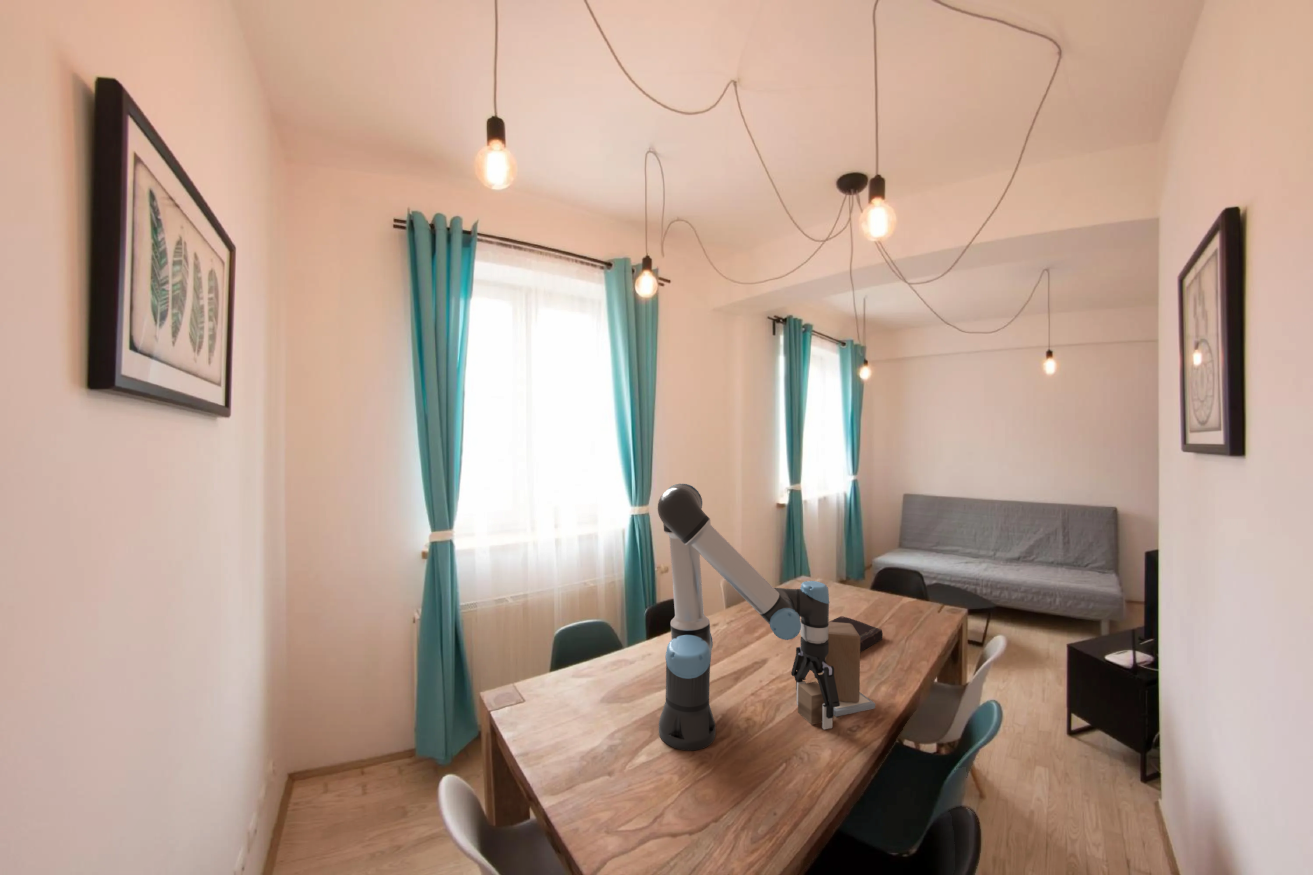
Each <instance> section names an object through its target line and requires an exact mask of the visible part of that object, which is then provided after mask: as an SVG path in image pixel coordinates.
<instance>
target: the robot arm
mask: <svg viewBox="0 0 1313 875" xmlns="http://www.w3.org/2000/svg"><path fill="white" fill-rule="evenodd" d="M702 508H703V498H702V495H701V493H700V492H699V490H697V488H695V486H693V485H691V484H687V483H678V484H674V485H671V486H670V487H669V488H668V489H667V490H665V491H664V492H663V494H662V495H661V496H660V498H659V500H658V503H657V514H658V517H659V519H660V521H661V522H662V524H663V533H664V534H666V535H667V536H668V537H669V550H670V552H669V553H670V563H671V565H670V566H671V577H672V579H671V580H672V592H673V593H672V594H673V604H674V605H673V606H674V607H673V608H674V617H673V618H672V619H671V620H670V634H671V635H670V636H671V640H670V641H669V642H668V644H667V647H666V652H665V665H666V666H665V668H666V669H665V672H666V673H665V702H664V705H663V708H662V711H661V714H660V716H659V720H658V734H659V737H660V739H661V740H662V741H663V743H665V744H666V745H668V746H670V747H671V748H674V749H676V750H679V751H681V750H682V751H697V750H701V749H705V748H706V747H708V746H710V745H711V744H712V743H713V742H714V740H715V738H716V722H715V718H714V715H713V711H712V708H711V706H710V687H711V686H710V681H711V678H710V677H711V675H710V674H711V673H710V672H711V662H712V661H711V660H712V651H713V644H714V642H713V636H712V633H711V624H710V618H709V617H708V616H706V615H705V611H704V599H703V598H704V596H703V584H702V571H701V557H702V558H703V559H704V560H705V561H706V562H707V563H708V564H709V565H710V566H711V567H712V568H713V569H714V570H715V571H716V572H717V573H718V574H719V576H721V577H722V578H723V579H724V580H725V581H726V582H727V583H728V584H729V585H730V586H731V587H732V588H733V589H734V590H735V591H736V592H737V593H738V594H739V595H740V596H741V597H742V598H743V599H744V600H745V601H746V602H747V603H748V604H749V606H751V607H752V609H754V610H755V611H756V612H757V613H758V614H759V615H760V616H761V618H763V619H764V620H765V622H766V623H767V624H769V627H770V629H771V632H772V633H773V634H774V635H775V636H776V637H777V638H778V639H781V640H785V641H789V640H793V639H795V638H797V637H798V635H799V634H800V636H801V637H800V646H797V647H795V658H794V660H793V664H792V669H791V673H790V674H791V676H792V677H794V680H795V690H796V691H795V692H796V703H795V704H796V705H797V706H798V685H799V684H805V683H807V681H805V680H807V679H806V677H807V676H808V674H809V673H810V671H811V672H812V673H813V676H814V678H815V679H816V680H817V683H818V684H819V687H820V690H821V693H822V696H823V700H824V703H825V704H823V705H822V722H821V728H822V729H823V730H829V729H832V728H833V719H834V713H833V712H834V707H838V706H840V703H839V698H838V693H837V688H836V683H835V677H834V667H833V666H828V665H827V664H826V660H825V658H826V656H827V655H828V650H829V642H828V631H829V621H830V619H829V618H830V614H829V613H830V611H829V610H830V595H829V594H830V593H829V587H828V586H827V585H826V584H825V583H823V582H820V581H816V580H808V581H807V580H805V581H803V582H802V583H801V584H800V588H782V587H773V586H772V584H771V583H770V582H768V580H767V579H766V578H764V577H763V575H762V574H760V573H759V572H758V570H756V568H754V567H753V566H752V564H750V563H749V561H747V559H745V557H744V556H742V555H741V553H739V551H738V550H737V549H735V547H734V546H733V545H731V544H730V542H728V540H727V539H725V538H724V537H723V536H722V535H721V534H720V533H719V531H717V529H715V527H714V526H713V525H712V524H711V518H710V517H709V516H708V515H707V514H706V513H705V512H704V510H703V509H702ZM700 556H701V557H700ZM822 672H823V674H821V675H819V673H822ZM828 700H829V701H828Z"/></svg>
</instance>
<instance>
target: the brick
mask: <svg viewBox="0 0 1313 875" xmlns="http://www.w3.org/2000/svg"><path fill="white" fill-rule="evenodd" d="M828 701H829V700H828ZM823 704H825V703H824V700H823V696H822V693H821V690H820V687H819V683H818V681H810V682H806V683H805V684H799V685H798V705H797V713H798V714H799V715H800V716H801V717H802V718H803V719H804V720H805V721H807V723H808V724H810V725H811V726H812V725H815V724H817V725H818V724H820V723H821V724H822V705H823Z"/></svg>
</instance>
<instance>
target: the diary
mask: <svg viewBox="0 0 1313 875" xmlns="http://www.w3.org/2000/svg"><path fill="white" fill-rule="evenodd" d="M829 622H839V623H850V624H852V625H853V626H854V628H855V629H856V631H857V633H858V634H859V636H860V653H862V652H863V651H865V650H867V649H868V648H870V647H871V646H873V645H874V644H877V643H878V642H879V643H880V641H882V640H883V637H884V636H883V630H882V629H881V628H878V627H875V626H872V625H871V624H867V623H864V622H862V621H859V620H857V619H854V618H851V617H846V616H842V615H841V616H838V617H836V618H833V619H832V620H829Z"/></svg>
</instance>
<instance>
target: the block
mask: <svg viewBox="0 0 1313 875" xmlns="http://www.w3.org/2000/svg"><path fill="white" fill-rule="evenodd" d="M828 642H829V650H828V655H827V656H826V658H825V660H826V664H827V665H828V666H833V667H834V677H835V683H836V688H837V693H838V698H839V701H844V702H854V703H857V702H859V696H860V693H861V691H860V689H861V688H860V684H861V683H860V682H861V652H860V636H859V634H858V633H857V631H856V629H855V628H854V626H853V625H852V624H850V623H839V622H829V631H828ZM821 674H823V672H822V673H819V675H821Z"/></svg>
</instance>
